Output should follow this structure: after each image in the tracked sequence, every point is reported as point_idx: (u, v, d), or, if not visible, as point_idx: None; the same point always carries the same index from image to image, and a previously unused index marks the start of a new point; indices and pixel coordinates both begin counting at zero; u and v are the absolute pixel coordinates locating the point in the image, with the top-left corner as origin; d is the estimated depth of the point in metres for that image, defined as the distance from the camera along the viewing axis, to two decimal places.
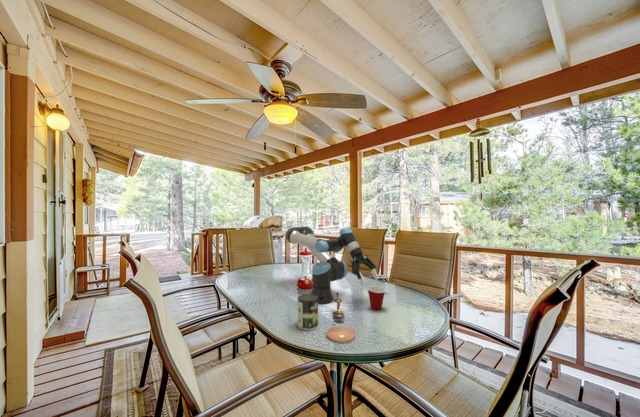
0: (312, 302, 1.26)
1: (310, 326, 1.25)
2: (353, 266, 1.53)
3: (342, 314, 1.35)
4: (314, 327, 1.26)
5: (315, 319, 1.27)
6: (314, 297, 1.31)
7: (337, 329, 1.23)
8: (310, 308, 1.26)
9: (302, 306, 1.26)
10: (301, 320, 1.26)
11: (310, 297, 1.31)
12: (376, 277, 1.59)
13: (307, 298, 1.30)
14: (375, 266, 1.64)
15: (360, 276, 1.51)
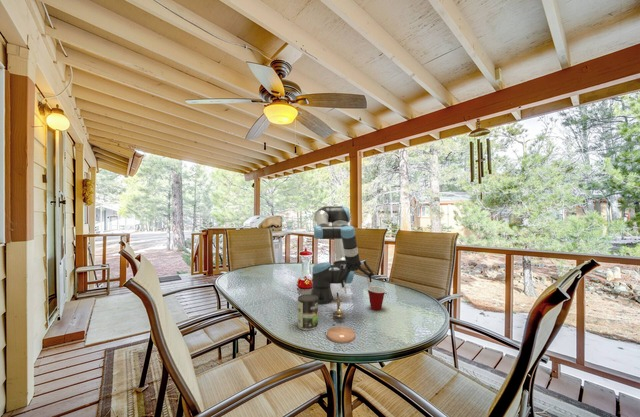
0: (312, 302, 1.26)
1: (310, 326, 1.25)
2: (339, 274, 1.42)
3: (342, 314, 1.35)
4: (314, 327, 1.26)
5: (315, 319, 1.27)
6: (314, 297, 1.31)
7: (337, 329, 1.23)
8: (310, 308, 1.26)
9: (302, 306, 1.26)
10: (301, 320, 1.26)
11: (310, 297, 1.31)
12: (368, 285, 1.44)
13: (307, 298, 1.30)
14: (372, 275, 1.42)
15: (343, 285, 1.43)
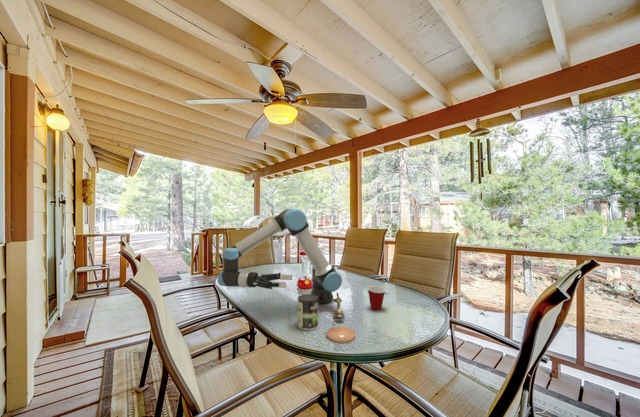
0: (312, 302, 1.26)
1: (310, 326, 1.25)
2: None
3: (342, 314, 1.35)
4: (314, 327, 1.26)
5: (315, 319, 1.27)
6: (314, 297, 1.31)
7: (337, 329, 1.23)
8: (310, 308, 1.26)
9: (302, 306, 1.26)
10: (301, 320, 1.26)
11: (310, 297, 1.31)
12: None
13: (307, 298, 1.30)
14: (268, 288, 1.23)
15: None
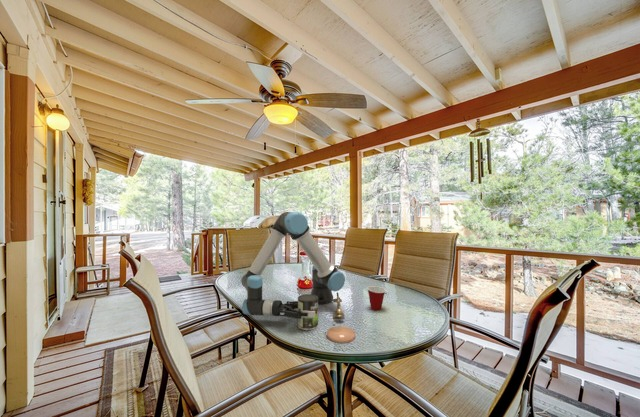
0: (312, 302, 1.26)
1: (310, 325, 1.25)
2: None
3: (342, 314, 1.35)
4: (314, 327, 1.26)
5: (315, 319, 1.27)
6: (314, 297, 1.31)
7: (337, 329, 1.23)
8: (310, 308, 1.26)
9: (302, 306, 1.26)
10: (301, 320, 1.26)
11: (310, 297, 1.31)
12: None
13: (307, 297, 1.30)
14: None
15: None
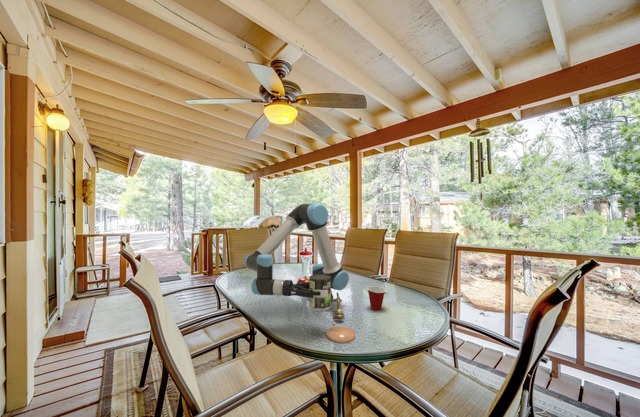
0: (325, 281, 1.20)
1: (322, 305, 1.19)
2: None
3: (342, 314, 1.35)
4: (327, 307, 1.20)
5: (328, 299, 1.21)
6: (326, 276, 1.25)
7: (337, 329, 1.23)
8: (322, 287, 1.19)
9: (314, 285, 1.20)
10: (313, 299, 1.20)
11: (322, 276, 1.25)
12: None
13: (320, 277, 1.24)
14: None
15: None
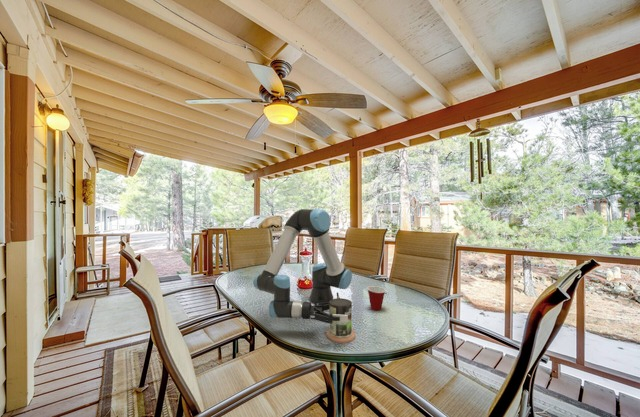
0: (346, 307, 1.15)
1: (344, 333, 1.15)
2: None
3: None
4: (348, 334, 1.16)
5: (349, 326, 1.16)
6: (347, 301, 1.20)
7: None
8: (344, 313, 1.15)
9: (336, 312, 1.15)
10: (334, 326, 1.15)
11: (342, 301, 1.21)
12: None
13: (340, 302, 1.19)
14: (329, 323, 1.11)
15: None
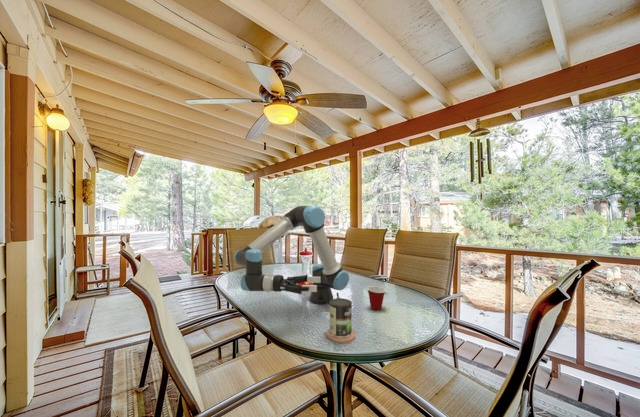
0: (346, 307, 1.15)
1: (344, 333, 1.15)
2: None
3: None
4: (348, 334, 1.16)
5: (349, 326, 1.16)
6: (347, 301, 1.20)
7: None
8: (344, 313, 1.15)
9: (336, 312, 1.15)
10: (334, 326, 1.15)
11: (342, 301, 1.21)
12: None
13: (340, 302, 1.19)
14: None
15: None
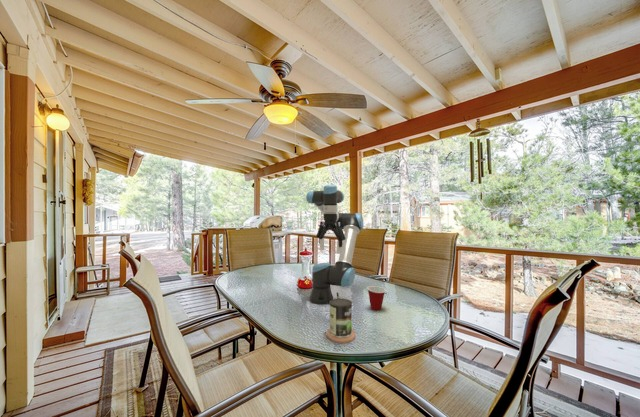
0: (346, 307, 1.15)
1: (344, 333, 1.15)
2: None
3: None
4: (348, 334, 1.16)
5: (349, 326, 1.16)
6: (347, 301, 1.20)
7: None
8: (344, 313, 1.15)
9: (336, 312, 1.15)
10: (334, 326, 1.15)
11: (342, 301, 1.21)
12: None
13: (340, 302, 1.19)
14: (341, 239, 1.36)
15: None
